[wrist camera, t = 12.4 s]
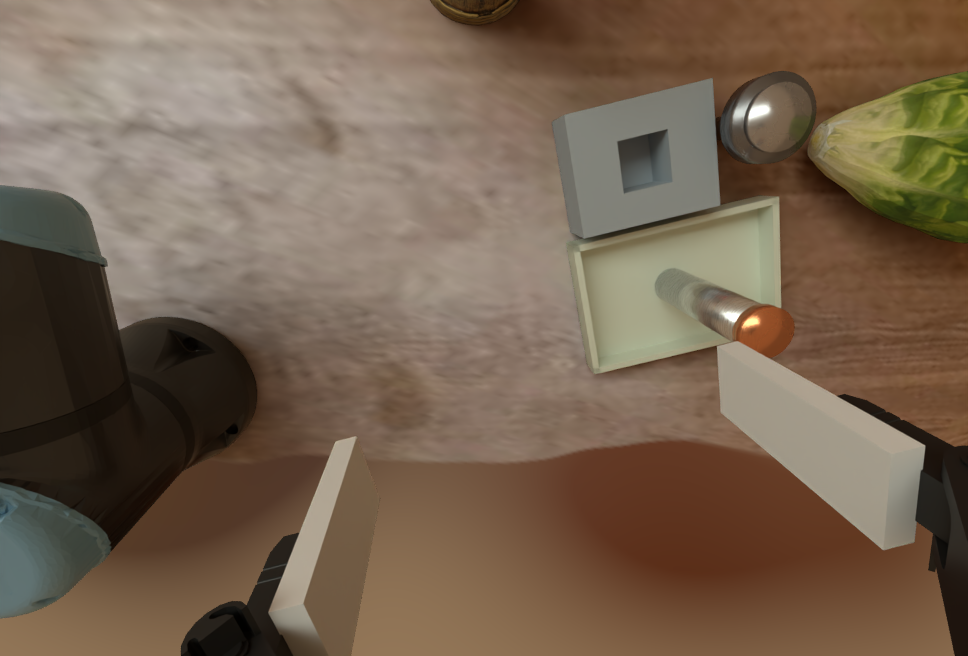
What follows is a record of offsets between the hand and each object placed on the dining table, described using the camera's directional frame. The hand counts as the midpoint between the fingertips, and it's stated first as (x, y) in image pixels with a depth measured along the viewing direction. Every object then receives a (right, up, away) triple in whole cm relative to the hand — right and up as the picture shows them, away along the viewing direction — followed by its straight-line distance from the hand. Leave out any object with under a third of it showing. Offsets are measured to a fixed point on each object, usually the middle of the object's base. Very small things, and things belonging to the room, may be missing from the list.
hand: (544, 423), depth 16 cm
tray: (+17, +8, +30) cm, 35 cm away
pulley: (+19, +22, +26) cm, 39 cm away
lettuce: (+38, +20, +28) cm, 51 cm away
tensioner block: (+11, +19, +26) cm, 34 cm away
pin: (+17, +8, +29) cm, 35 cm away
